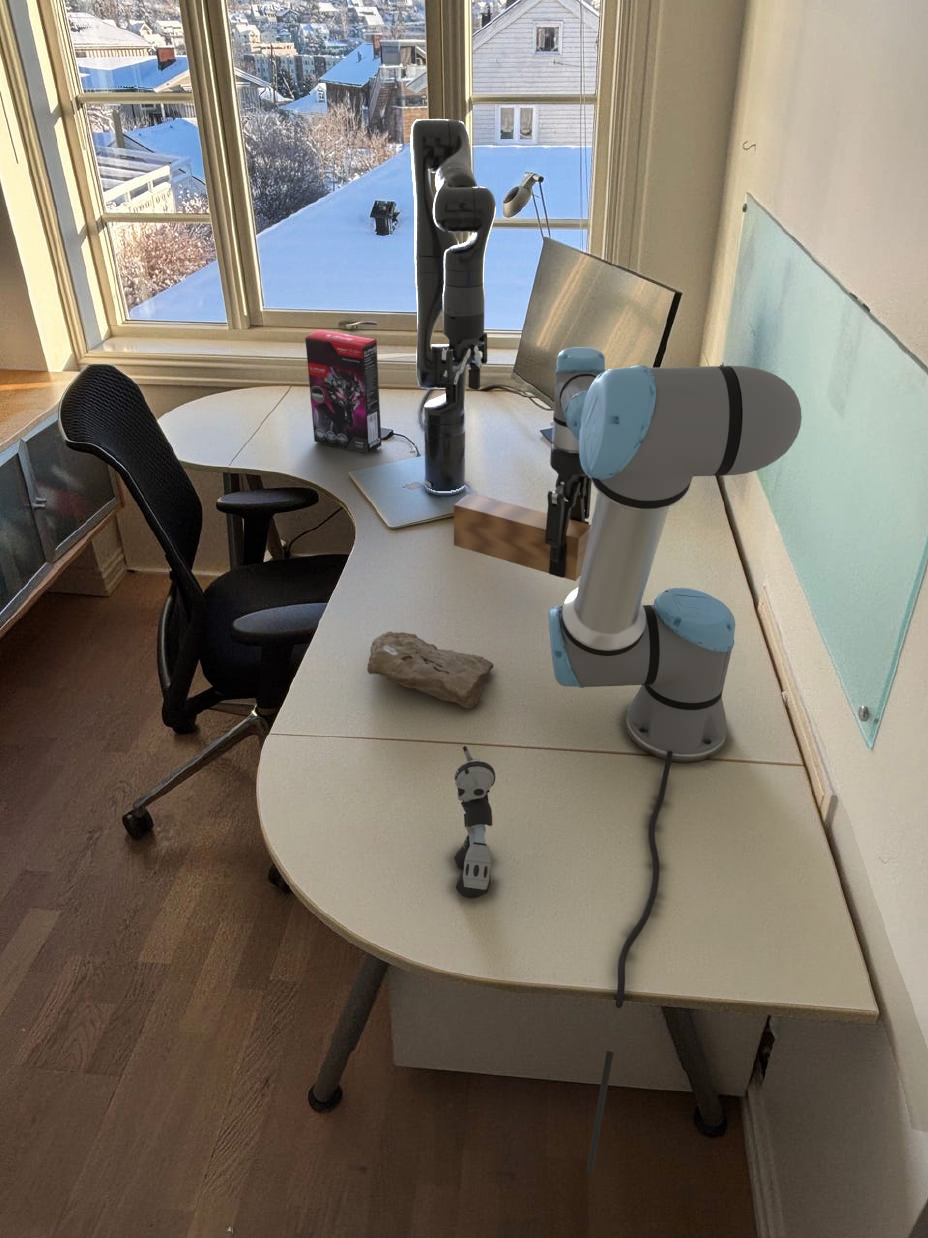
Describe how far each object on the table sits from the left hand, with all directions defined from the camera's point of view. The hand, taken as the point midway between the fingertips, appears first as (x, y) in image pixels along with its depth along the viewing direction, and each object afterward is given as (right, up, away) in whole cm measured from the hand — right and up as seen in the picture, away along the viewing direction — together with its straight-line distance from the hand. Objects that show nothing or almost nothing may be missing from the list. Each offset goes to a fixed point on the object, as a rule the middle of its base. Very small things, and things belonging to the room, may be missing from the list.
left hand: (463, 395), depth 175 cm
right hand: (+18, -33, -11) cm, 39 cm away
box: (+10, -31, -7) cm, 33 cm away
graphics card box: (-29, +2, +59) cm, 66 cm away
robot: (+1, -75, -55) cm, 94 cm away
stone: (-6, -53, -22) cm, 57 cm away
